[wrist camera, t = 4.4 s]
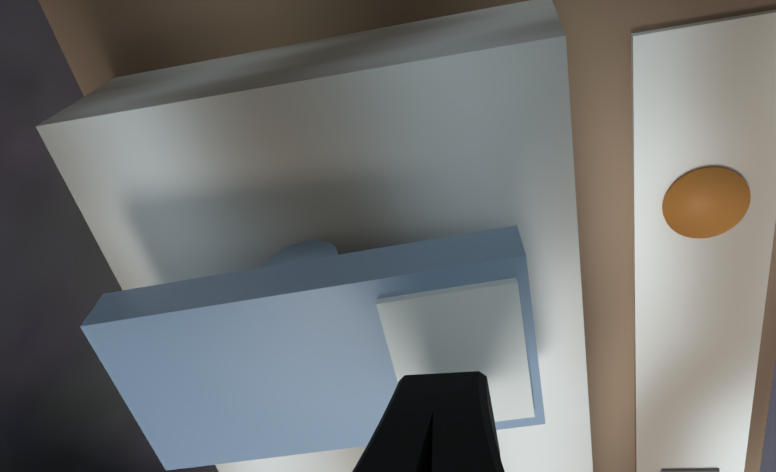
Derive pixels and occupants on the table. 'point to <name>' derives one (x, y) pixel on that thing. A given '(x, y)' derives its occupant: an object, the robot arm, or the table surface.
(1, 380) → the table surface
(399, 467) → the robot arm
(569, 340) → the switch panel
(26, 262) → the table surface
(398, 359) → the blue rectangular block
